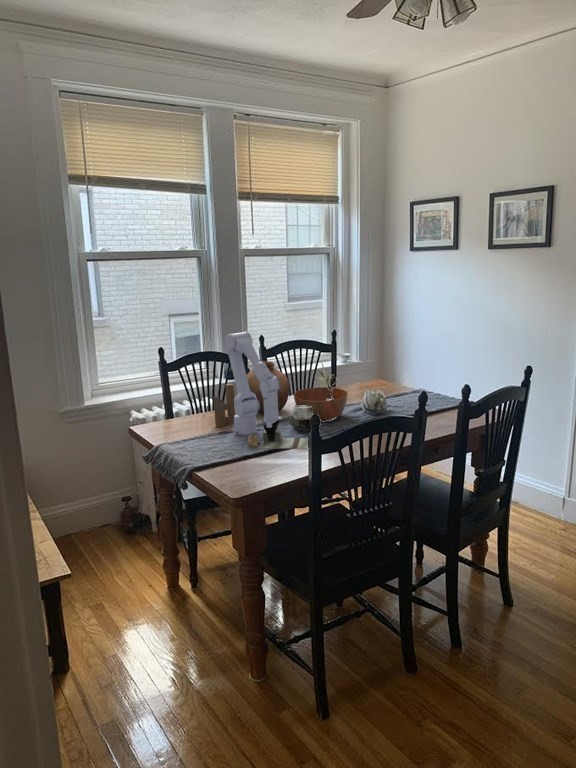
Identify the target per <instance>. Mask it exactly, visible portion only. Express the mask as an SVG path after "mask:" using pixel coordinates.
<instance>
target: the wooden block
mask: <svg viewBox="0 0 576 768" xmlns="http://www.w3.org/2000/svg"><path fill="white" fill-rule="evenodd" d="M234 389H235V388H234V383H226V384H225V395H226V397H225V398H226V403H225V402H224V401H223V399H221V398H220V397H219V396H215V395H214V396H213V397H212V398H213V411H214V423H215V427H218V428H223V427H225V426H227V425H231V424H234V416H235V415H237V414H236V412H235V410H234V399H235V391H234ZM226 411H227V412H226ZM226 413H227V414H226Z"/></svg>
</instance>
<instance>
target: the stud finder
mask: <svg viewBox="0 0 576 768" xmlns="http://www.w3.org/2000/svg"><path fill="white" fill-rule="evenodd" d="M282 436H283V435H282V429H281V428H277V429H276V432H275V440H274V441H269V440H268V436H267V433H266V430H265V429H264V428H263V431H262V441H263V442H281V439H282Z"/></svg>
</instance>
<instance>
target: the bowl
mask: <svg viewBox="0 0 576 768" xmlns="http://www.w3.org/2000/svg"><path fill="white" fill-rule="evenodd" d="M332 388H333V398H334V400H330V401H326V399H327V398H329V399H331V395H330V391H329V390H328V388H327V386H321V387H320V386H319V387H308V388H303V389H300V390H298V391H295V392H294V393H293V398H294V399H293V400H294V403H295V406H296V405H309V406H312V408H313V414H318V415H319V417H320V419H321V422H320V423H323V422H322V421H326V420H329V419H332V418H335V417H339V416H340V417H341V416H342V415H343V412H344V411H345V407H346V404H347V401H348V394H349V393H348V391H346V390H345V389H341V388H338V387H337V388H336V387H332ZM340 417H339V418H340Z"/></svg>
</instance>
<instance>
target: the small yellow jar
mask: <svg viewBox="0 0 576 768" xmlns="http://www.w3.org/2000/svg"><path fill="white" fill-rule="evenodd" d="M247 439H248V440H247V441H248V447H249V448H256V447H258V446H259V445H258V435H255V433H254V434H253V432H251V434H250V435H248V437H247Z"/></svg>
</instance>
